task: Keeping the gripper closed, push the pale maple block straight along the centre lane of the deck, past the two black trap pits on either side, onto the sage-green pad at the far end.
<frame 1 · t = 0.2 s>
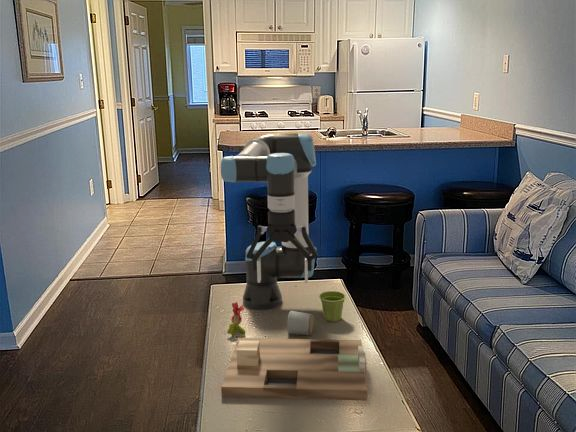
hand: (282, 281, 160), 28 cm above the table, tool pointing down, fingers open, 13 cm apart
plant pot: (332, 318, 200), on the table
maple block: (248, 360, 165), point 3 cm above the table, touching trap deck
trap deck: (296, 370, 165), on the table
ceramic mug: (300, 332, 190), on the table
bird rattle: (236, 332, 191), on the table
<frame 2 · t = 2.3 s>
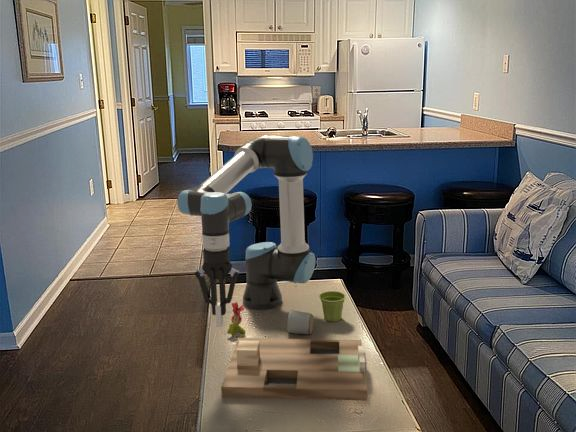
hand: (219, 324, 163), 15 cm above the table, tool pointing down, fingers closed
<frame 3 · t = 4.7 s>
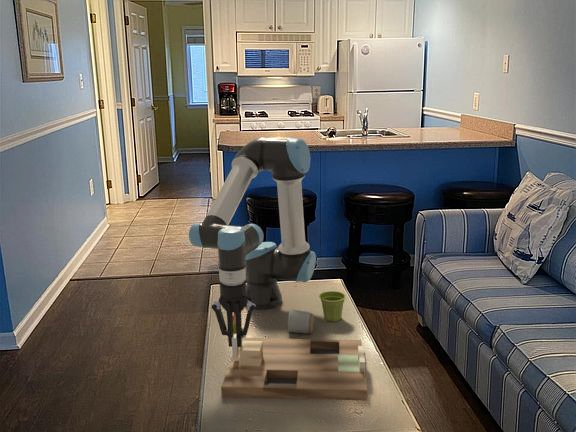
hand: (235, 356, 165), 4 cm above the table, tool pointing down, fingers closed
maple block: (251, 360, 165), point 3 cm above the table, touching gripper, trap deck
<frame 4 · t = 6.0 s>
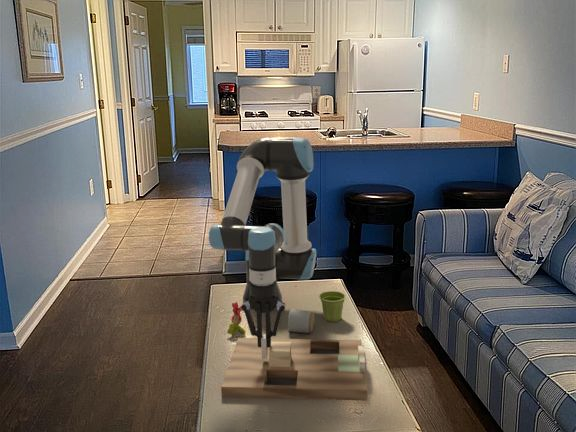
hand: (264, 356, 164), 5 cm above the table, tool pointing down, fingers closed
maple block: (280, 361, 164), point 3 cm above the table, touching gripper
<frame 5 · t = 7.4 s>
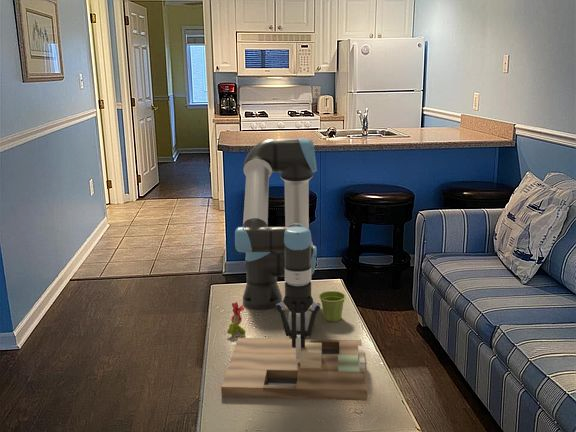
hand: (298, 357, 163), 5 cm above the table, tool pointing down, fingers closed
maple block: (311, 362, 163), point 3 cm above the table, touching gripper
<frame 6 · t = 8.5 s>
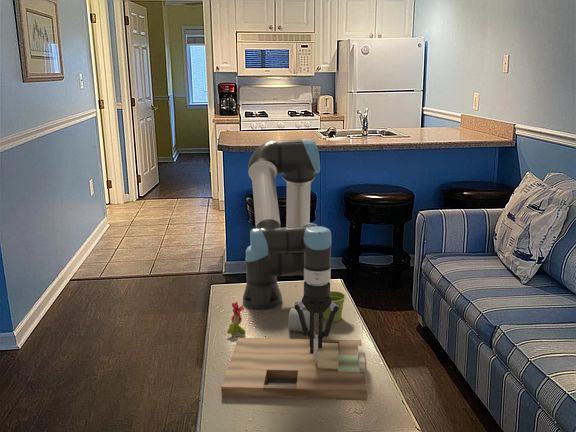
hand: (315, 357, 163), 5 cm above the table, tool pointing down, fingers closed
maple block: (327, 363, 163), point 3 cm above the table, touching gripper, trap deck
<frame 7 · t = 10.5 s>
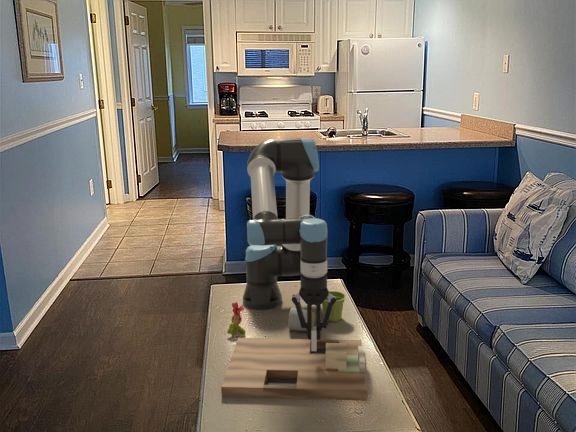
hand: (314, 348, 163), 7 cm above the table, tool pointing down, fingers closed
maple block: (336, 363, 163), point 3 cm above the table, touching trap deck
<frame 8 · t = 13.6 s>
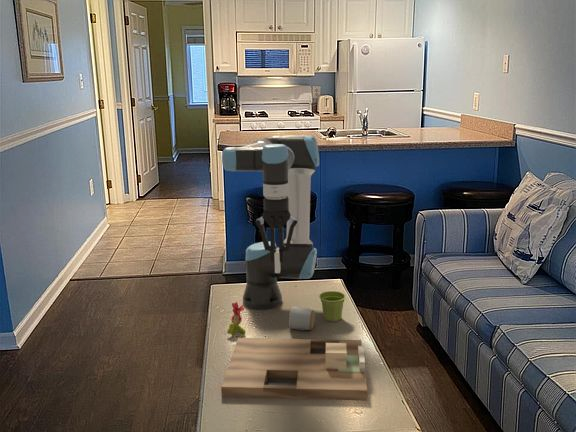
hand: (277, 271, 171), 26 cm above the table, tool pointing down, fingers closed
at the end: maple block inside the target area (2.6 cm from its centre), point 3.0 cm above the table; maple block tilted 0° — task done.
